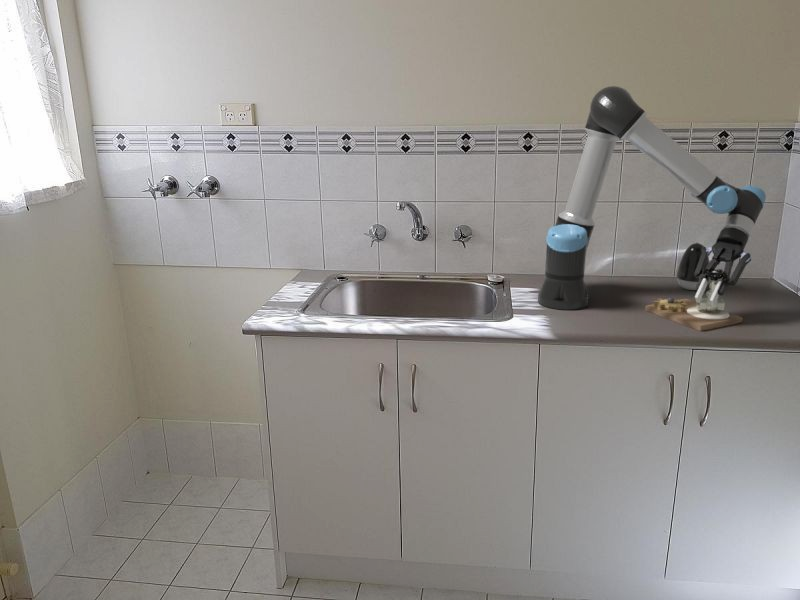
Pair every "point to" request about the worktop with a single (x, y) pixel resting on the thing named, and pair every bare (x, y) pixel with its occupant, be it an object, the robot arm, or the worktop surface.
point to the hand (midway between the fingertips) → (704, 301)
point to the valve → (705, 302)
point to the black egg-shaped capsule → (690, 267)
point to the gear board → (691, 314)
